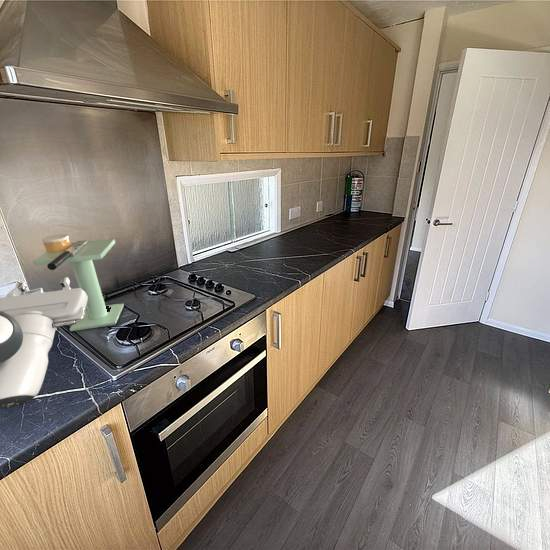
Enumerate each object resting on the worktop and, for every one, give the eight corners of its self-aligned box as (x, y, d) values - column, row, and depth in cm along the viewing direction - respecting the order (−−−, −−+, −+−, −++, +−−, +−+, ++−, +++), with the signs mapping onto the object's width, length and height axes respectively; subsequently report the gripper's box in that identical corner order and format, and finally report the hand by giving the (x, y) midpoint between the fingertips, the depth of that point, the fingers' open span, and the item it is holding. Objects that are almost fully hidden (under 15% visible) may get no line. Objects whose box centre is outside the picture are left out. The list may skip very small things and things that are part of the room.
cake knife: (59, 269, 78) (56, 262, 78) (46, 270, 78) (43, 263, 77) (88, 243, 101) (86, 237, 100) (78, 244, 100) (76, 238, 99)
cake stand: (120, 326, 99) (97, 241, 88) (59, 336, 95) (25, 248, 83) (130, 302, 115) (111, 227, 104) (78, 309, 111) (52, 232, 99)
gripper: (76, 316, 65) (85, 268, 73) (-34, 332, 60) (-12, 279, 68) (88, 329, 70) (94, 283, 78) (-14, 344, 65) (5, 294, 73)
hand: (44, 281), depth 73 cm, fingers open, 8 cm apart
